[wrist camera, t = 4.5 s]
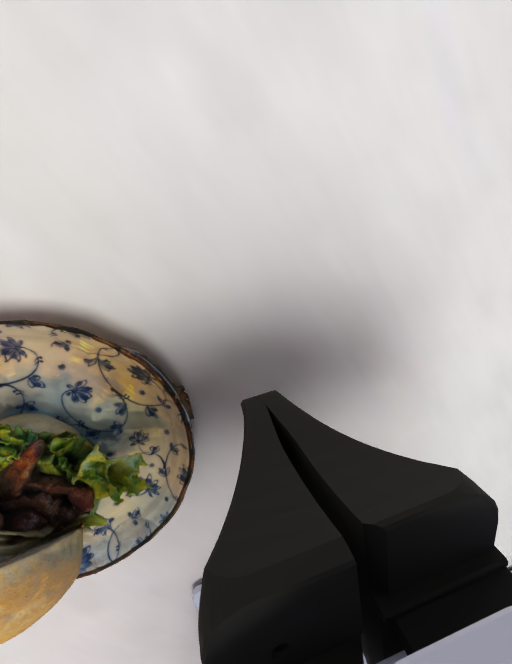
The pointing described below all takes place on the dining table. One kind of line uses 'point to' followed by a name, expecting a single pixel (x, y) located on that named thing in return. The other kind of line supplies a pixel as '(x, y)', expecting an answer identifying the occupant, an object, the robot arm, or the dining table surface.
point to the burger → (80, 461)
